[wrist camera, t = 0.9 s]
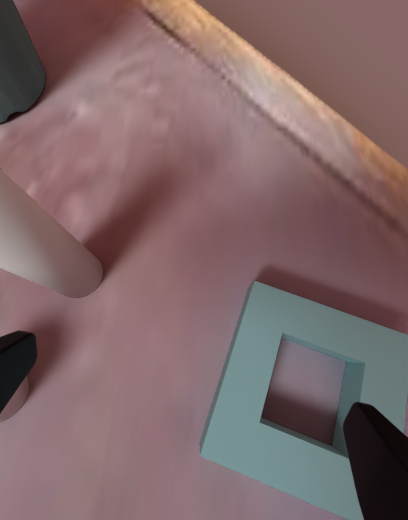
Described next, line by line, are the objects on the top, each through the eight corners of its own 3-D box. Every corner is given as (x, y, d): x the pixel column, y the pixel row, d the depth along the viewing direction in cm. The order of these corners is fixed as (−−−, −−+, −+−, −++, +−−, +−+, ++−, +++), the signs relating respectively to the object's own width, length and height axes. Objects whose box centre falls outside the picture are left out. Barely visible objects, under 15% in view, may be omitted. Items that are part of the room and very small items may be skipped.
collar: (367, 513, 17) (394, 539, 15) (199, 442, 19) (199, 456, 16) (388, 338, 21) (412, 336, 19) (248, 287, 22) (254, 280, 20)
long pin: (89, 304, 22) (-82, 231, 8) (46, 288, 22) (-182, 193, 9) (111, 262, 23) (-7, 140, 10) (70, 247, 23) (-97, 110, 10)
